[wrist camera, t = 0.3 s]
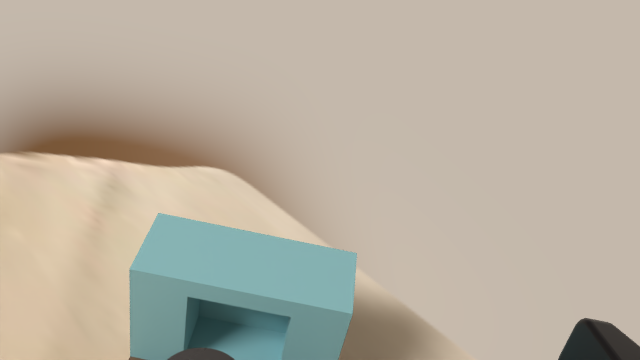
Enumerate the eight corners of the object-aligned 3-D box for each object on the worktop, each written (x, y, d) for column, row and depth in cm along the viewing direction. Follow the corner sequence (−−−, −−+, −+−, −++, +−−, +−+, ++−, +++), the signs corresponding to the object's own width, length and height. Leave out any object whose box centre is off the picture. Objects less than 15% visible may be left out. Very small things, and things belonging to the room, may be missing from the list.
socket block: (326, 395, 24) (352, 313, 21) (130, 356, 24) (129, 269, 21) (333, 332, 27) (356, 253, 24) (156, 297, 26) (158, 212, 24)
